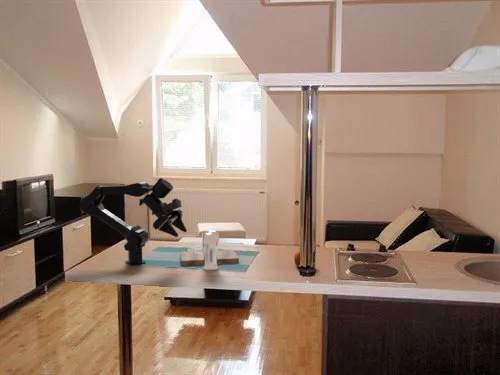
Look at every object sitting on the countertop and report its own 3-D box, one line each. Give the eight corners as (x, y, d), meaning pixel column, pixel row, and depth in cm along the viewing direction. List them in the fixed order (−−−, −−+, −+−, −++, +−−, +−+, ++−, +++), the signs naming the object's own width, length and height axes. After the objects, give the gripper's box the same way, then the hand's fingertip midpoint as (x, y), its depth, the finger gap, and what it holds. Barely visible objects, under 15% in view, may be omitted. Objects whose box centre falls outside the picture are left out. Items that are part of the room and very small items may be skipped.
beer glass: (216, 271, 189) (216, 234, 188) (199, 270, 191) (199, 233, 189) (221, 266, 196) (221, 230, 194) (204, 265, 198) (204, 229, 196)
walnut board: (181, 265, 197) (181, 260, 197) (180, 256, 212) (180, 251, 212) (238, 262, 202) (238, 258, 201) (233, 253, 216) (233, 249, 216)
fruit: (290, 266, 192) (293, 247, 195) (294, 271, 198) (297, 253, 201) (309, 268, 189) (312, 249, 192) (313, 273, 195) (316, 255, 198)
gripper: (159, 195, 185) (186, 225, 184) (177, 190, 203) (202, 216, 202) (141, 214, 188) (167, 244, 187) (161, 207, 206) (185, 234, 205)
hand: (182, 233), depth 195 cm, fingers open, 9 cm apart
